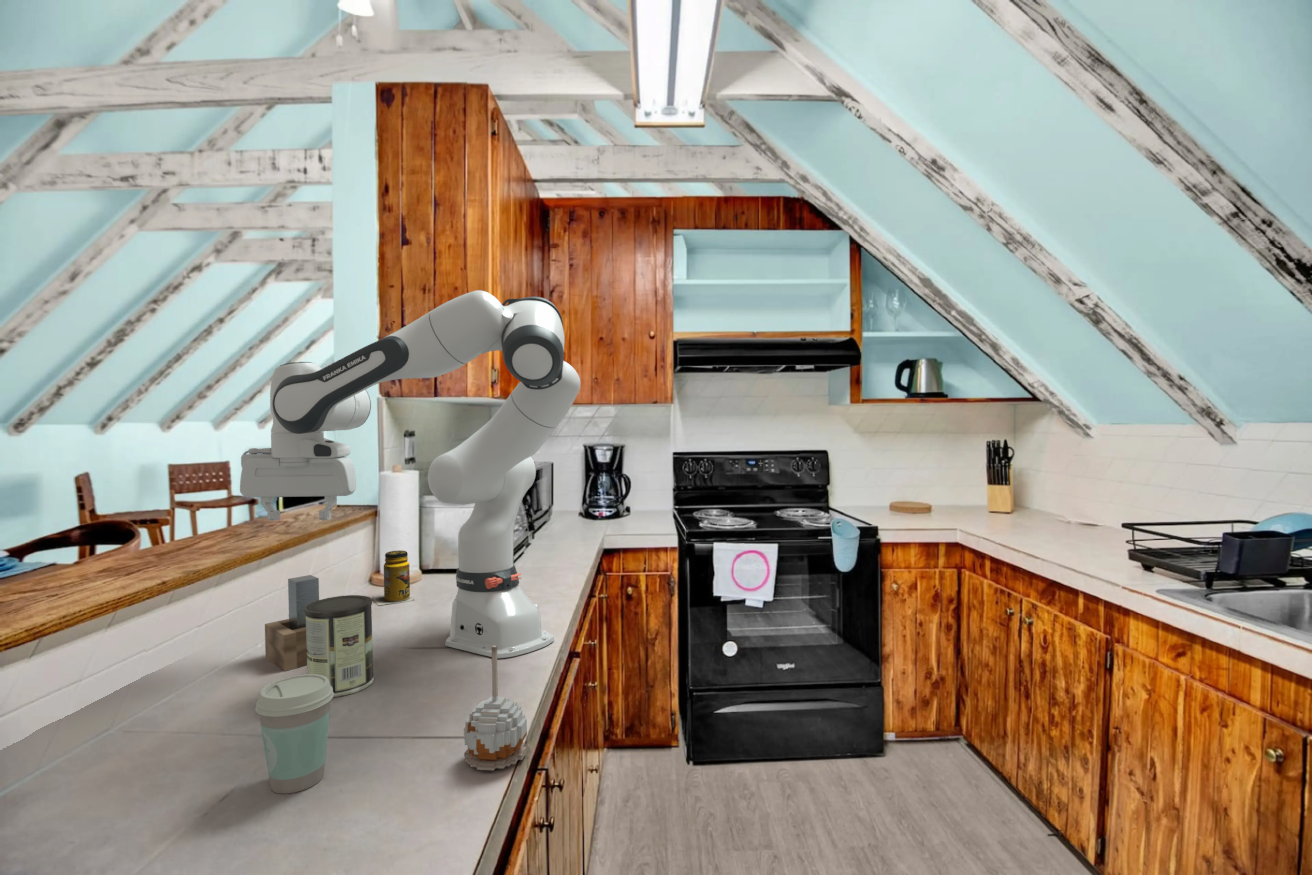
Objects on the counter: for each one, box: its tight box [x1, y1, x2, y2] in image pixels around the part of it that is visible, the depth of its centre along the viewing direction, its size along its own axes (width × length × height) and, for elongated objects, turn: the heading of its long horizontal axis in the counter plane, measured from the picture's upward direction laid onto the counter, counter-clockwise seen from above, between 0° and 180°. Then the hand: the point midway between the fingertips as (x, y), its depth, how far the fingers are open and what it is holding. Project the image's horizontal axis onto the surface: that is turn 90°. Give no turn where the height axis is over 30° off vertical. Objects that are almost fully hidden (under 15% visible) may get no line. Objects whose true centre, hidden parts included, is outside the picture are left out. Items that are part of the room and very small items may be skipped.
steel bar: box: [287, 574, 320, 630], centre depth 123 cm, size 4×4×15 cm
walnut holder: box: [264, 618, 307, 672], centre depth 123 cm, size 10×10×6 cm
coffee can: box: [304, 594, 375, 698], centre depth 110 cm, size 10×10×14 cm
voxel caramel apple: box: [463, 646, 528, 771], centre depth 86 cm, size 8×8×15 cm
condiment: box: [372, 550, 415, 606], centre depth 162 cm, size 7×8×12 cm
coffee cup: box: [254, 673, 334, 795], centre depth 81 cm, size 9×9×12 cm
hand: (299, 519), depth 124 cm, fingers open, 8 cm apart
